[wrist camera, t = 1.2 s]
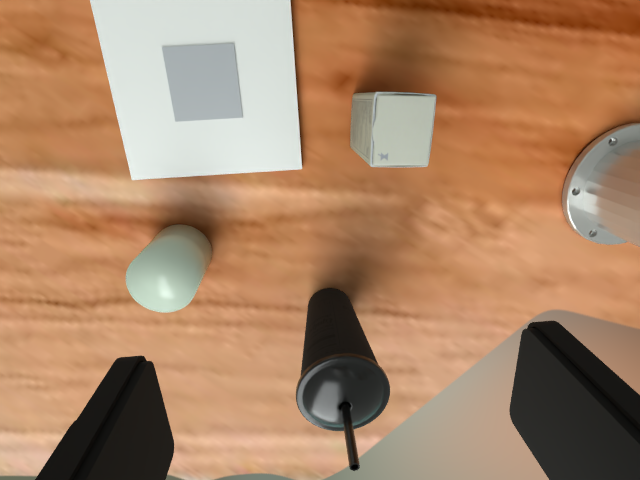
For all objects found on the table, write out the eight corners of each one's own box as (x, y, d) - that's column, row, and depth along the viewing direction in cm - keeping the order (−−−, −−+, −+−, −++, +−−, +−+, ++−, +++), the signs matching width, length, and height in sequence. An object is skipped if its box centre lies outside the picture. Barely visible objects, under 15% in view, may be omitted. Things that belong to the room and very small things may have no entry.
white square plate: (288, -26, 32) (288, -30, 31) (301, 167, 38) (302, 169, 37) (91, -17, 32) (84, -21, 31) (136, 177, 38) (131, 180, 37)
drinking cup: (318, 346, 46) (335, 521, 28) (282, 299, 44) (273, 458, 25) (375, 314, 45) (431, 475, 26) (341, 264, 42) (377, 403, 24)
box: (392, 148, 38) (428, 172, 28) (348, 148, 38) (368, 171, 28) (398, 91, 36) (438, 93, 26) (351, 89, 36) (374, 91, 26)
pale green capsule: (207, 222, 40) (189, 248, 33) (216, 275, 42) (201, 309, 36) (147, 226, 40) (118, 254, 33) (159, 279, 42) (134, 314, 35)
